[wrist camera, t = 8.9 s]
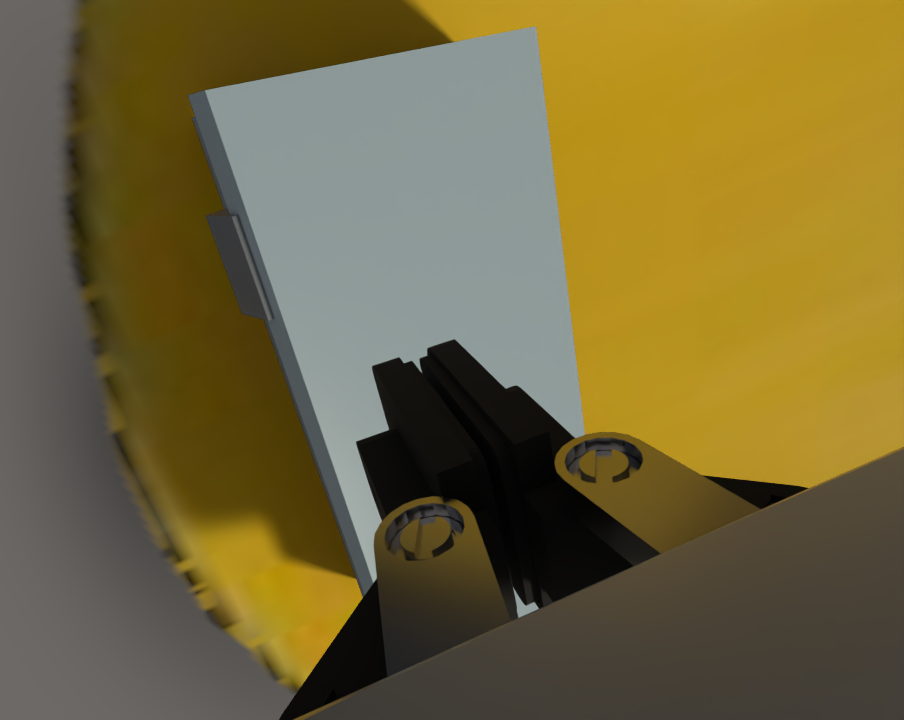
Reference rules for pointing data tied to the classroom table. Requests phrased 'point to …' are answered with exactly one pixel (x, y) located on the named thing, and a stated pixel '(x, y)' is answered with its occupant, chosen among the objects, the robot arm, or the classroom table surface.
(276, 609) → the classroom table surface
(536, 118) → the grey flat panel
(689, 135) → the classroom table surface
